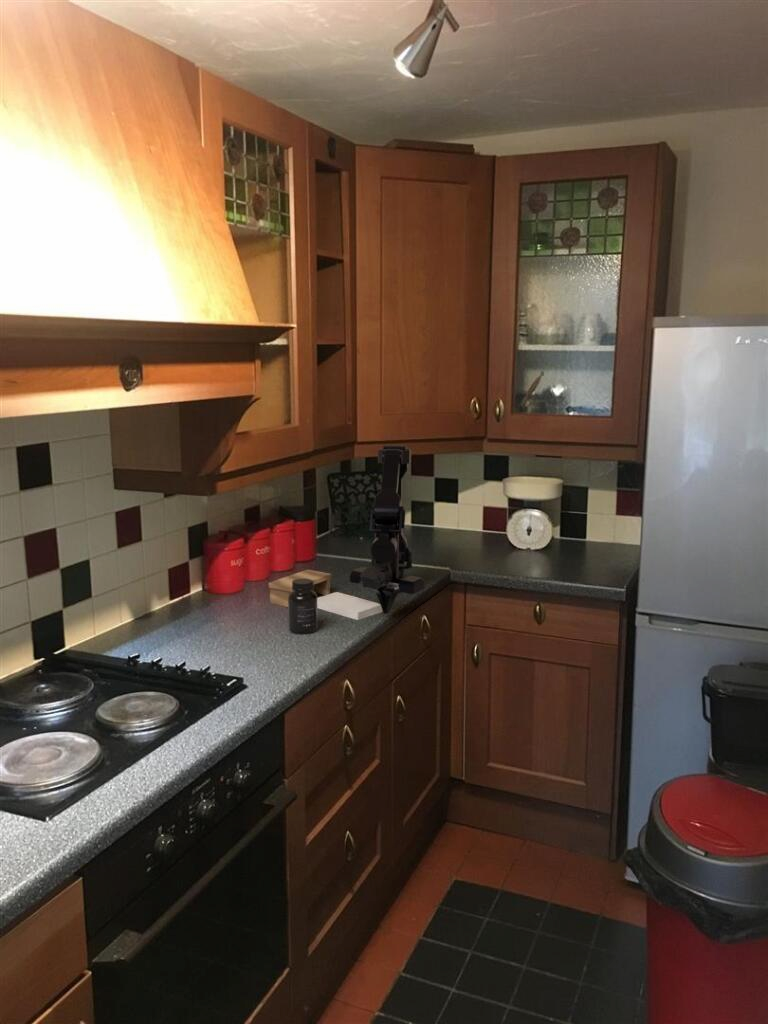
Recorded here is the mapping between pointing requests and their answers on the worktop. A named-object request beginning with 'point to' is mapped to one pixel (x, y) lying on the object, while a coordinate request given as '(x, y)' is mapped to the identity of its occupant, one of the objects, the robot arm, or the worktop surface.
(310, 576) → the oak shelf
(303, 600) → the supplement bottle
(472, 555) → the worktop surface
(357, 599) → the panel
